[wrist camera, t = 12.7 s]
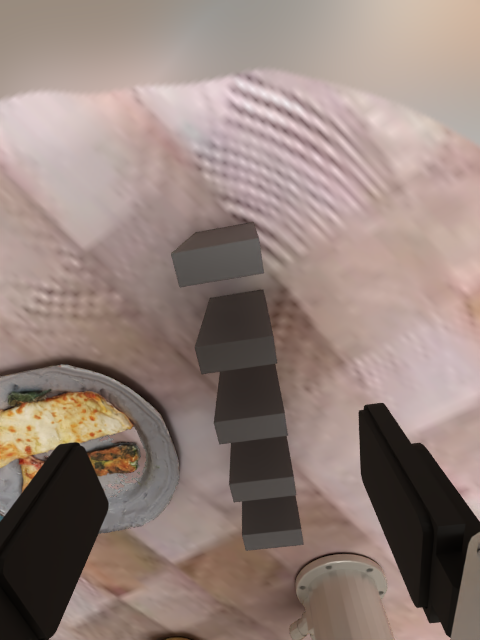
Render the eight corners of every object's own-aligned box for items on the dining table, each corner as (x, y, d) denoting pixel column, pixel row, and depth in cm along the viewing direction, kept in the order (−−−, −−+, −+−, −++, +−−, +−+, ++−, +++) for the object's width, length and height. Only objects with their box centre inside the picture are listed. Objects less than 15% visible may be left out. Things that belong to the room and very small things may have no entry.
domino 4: (281, 412, 34) (296, 495, 25) (236, 418, 34) (233, 502, 25) (279, 397, 33) (293, 476, 24) (232, 403, 34) (229, 484, 24)
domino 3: (274, 364, 32) (287, 435, 23) (225, 371, 32) (219, 444, 23) (272, 347, 31) (284, 413, 22) (222, 354, 31) (213, 422, 22)
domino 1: (256, 245, 27) (264, 273, 18) (200, 255, 28) (179, 287, 18) (253, 222, 27) (258, 238, 17) (195, 232, 27) (171, 253, 18)
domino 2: (266, 309, 30) (277, 363, 20) (214, 318, 30) (201, 374, 21) (263, 289, 29) (273, 335, 20) (210, 298, 29) (194, 347, 20)
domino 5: (287, 454, 36) (303, 544, 27) (245, 459, 37) (245, 550, 27) (286, 441, 35) (301, 528, 26) (242, 446, 36) (242, 535, 27)
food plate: (19, 533, 42) (1, 562, 38) (-84, 386, 33) (-118, 406, 30) (203, 500, 40) (200, 527, 37) (143, 337, 32) (132, 353, 28)
